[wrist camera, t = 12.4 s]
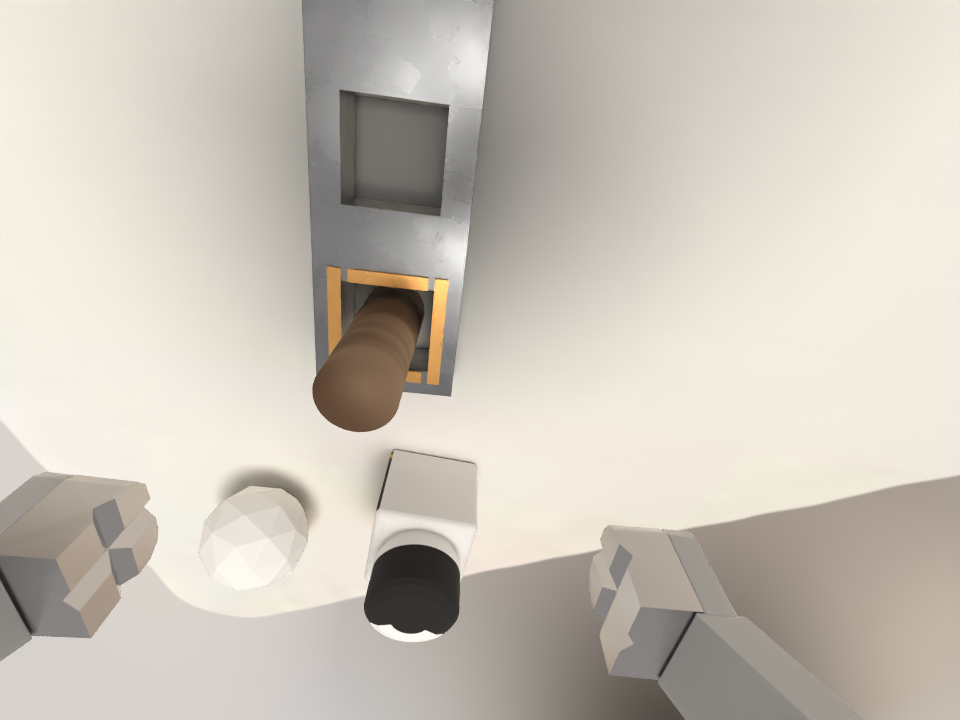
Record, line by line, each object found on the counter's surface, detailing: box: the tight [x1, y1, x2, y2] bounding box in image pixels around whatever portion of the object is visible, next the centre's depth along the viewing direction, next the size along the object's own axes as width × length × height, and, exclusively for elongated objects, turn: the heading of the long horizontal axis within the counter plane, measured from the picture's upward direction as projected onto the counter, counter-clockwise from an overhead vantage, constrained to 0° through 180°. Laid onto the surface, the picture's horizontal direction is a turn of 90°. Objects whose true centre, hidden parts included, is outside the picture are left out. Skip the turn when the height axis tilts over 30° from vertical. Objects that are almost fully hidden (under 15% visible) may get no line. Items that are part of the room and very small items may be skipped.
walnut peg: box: [313, 286, 424, 432], centre depth 27 cm, size 4×4×12 cm
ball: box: [198, 486, 308, 591], centre depth 36 cm, size 8×8×8 cm
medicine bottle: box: [364, 450, 477, 642], centre depth 34 cm, size 7×7×12 cm
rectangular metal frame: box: [302, 0, 494, 396], centre depth 26 cm, size 29×9×4 cm, turn 173°
